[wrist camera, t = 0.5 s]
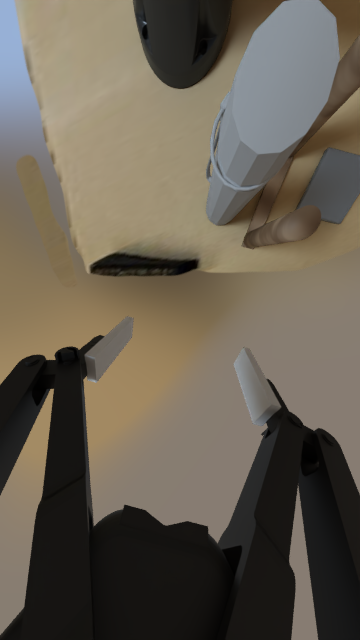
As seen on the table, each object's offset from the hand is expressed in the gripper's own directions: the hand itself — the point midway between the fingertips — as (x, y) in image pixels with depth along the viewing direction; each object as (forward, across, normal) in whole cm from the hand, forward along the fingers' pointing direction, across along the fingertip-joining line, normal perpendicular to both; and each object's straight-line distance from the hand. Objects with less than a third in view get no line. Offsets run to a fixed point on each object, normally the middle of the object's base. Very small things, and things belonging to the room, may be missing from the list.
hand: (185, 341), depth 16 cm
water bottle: (+28, 0, +20) cm, 34 cm away
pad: (+28, +22, +27) cm, 45 cm away
